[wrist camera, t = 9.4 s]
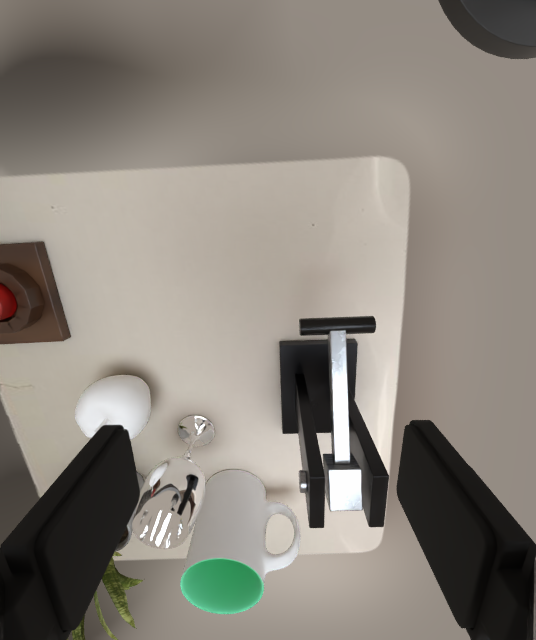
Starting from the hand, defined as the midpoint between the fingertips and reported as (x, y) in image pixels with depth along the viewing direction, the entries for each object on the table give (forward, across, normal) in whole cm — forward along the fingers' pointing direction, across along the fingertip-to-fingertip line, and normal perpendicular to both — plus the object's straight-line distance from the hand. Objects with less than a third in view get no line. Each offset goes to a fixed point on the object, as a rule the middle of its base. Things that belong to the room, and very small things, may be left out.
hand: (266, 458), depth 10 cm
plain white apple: (+22, +16, +10) cm, 29 cm away
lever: (+11, -5, +5) cm, 13 cm away
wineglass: (+22, +9, +16) cm, 28 cm away
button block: (+22, +26, -1) cm, 34 cm away
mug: (+22, +3, +25) cm, 34 cm away
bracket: (+22, -5, +10) cm, 24 cm away
